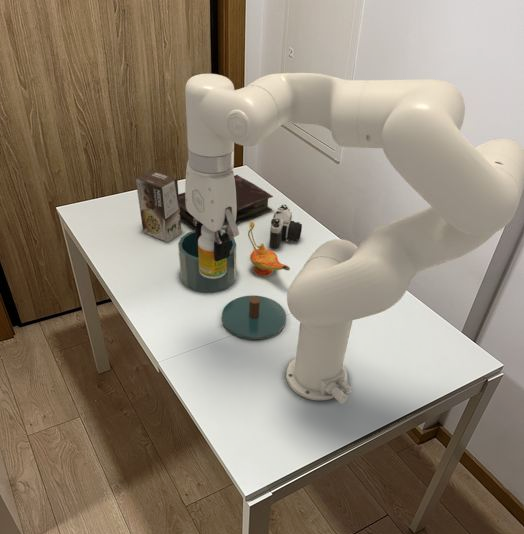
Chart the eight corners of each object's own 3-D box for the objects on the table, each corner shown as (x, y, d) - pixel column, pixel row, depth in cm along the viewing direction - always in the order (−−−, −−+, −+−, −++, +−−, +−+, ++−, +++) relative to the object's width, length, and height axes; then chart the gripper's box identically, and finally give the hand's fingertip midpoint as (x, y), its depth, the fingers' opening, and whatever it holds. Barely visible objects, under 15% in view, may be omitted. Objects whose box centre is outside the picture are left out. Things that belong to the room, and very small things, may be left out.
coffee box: (182, 232, 148) (178, 178, 136) (167, 243, 144) (162, 187, 132) (157, 222, 151) (151, 168, 140) (141, 232, 147) (134, 177, 136)
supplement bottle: (216, 282, 101) (216, 239, 95) (193, 273, 103) (191, 229, 96) (232, 269, 105) (232, 225, 98) (209, 260, 107) (208, 217, 100)
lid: (298, 325, 122) (301, 306, 118) (246, 350, 115) (246, 330, 111) (260, 292, 130) (261, 272, 126) (209, 313, 123) (209, 293, 120)
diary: (167, 211, 156) (166, 195, 152) (235, 187, 168) (235, 172, 164) (204, 239, 146) (203, 223, 142) (273, 212, 158) (274, 196, 154)
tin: (246, 281, 133) (246, 248, 126) (199, 299, 127) (197, 266, 120) (216, 255, 141) (216, 223, 134) (171, 271, 135) (168, 239, 128)
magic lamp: (275, 296, 129) (278, 258, 121) (236, 259, 139) (237, 222, 132) (298, 288, 132) (302, 250, 124) (258, 252, 142) (260, 215, 135)
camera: (295, 254, 142) (299, 224, 137) (266, 250, 143) (269, 219, 137) (302, 233, 152) (306, 203, 146) (275, 228, 153) (278, 199, 147)
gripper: (164, 144, 91) (172, 235, 104) (221, 184, 82) (221, 280, 94) (201, 135, 94) (204, 224, 107) (260, 173, 85) (255, 266, 98)
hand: (212, 249), depth 101 cm, fingers closed on supplement bottle, 5 cm apart
